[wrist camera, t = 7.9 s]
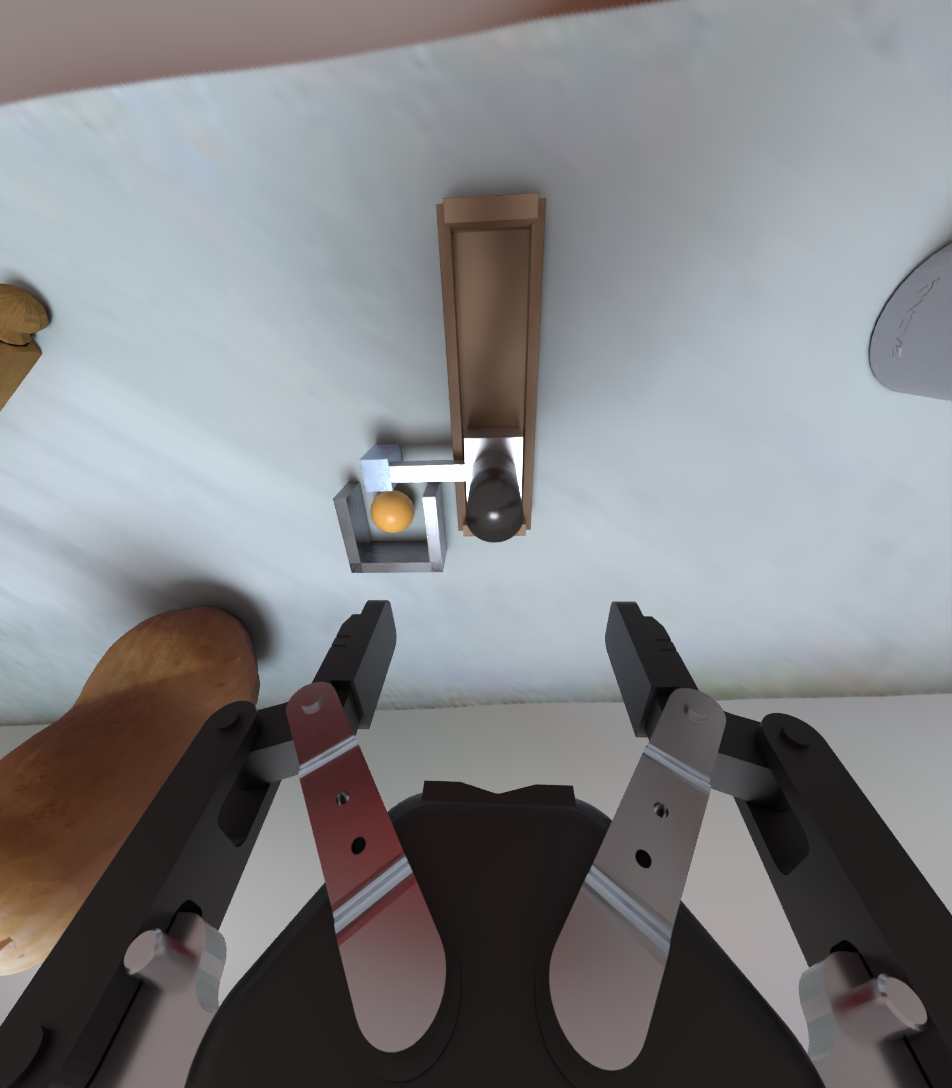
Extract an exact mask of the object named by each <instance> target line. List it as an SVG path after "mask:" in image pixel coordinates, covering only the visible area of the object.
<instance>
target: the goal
mask: <svg viewBox="0 0 952 1088" xmlns="http://www.w3.org/2000/svg"><path fill="white" fill-rule="evenodd" d="M422 499H423V507H424V515H425V524H426V532H427V541H428V542H372V539H371V535H370V530H369V525H368V520H367V515H366V511H365V506H364V501H363V496H362V491H361V487H360V482H348V483H347V484H346V485H345V486H344V488H343V489H342V490H341V491H340V492H339V493H338V494H337V495H336V496H335V497H334V499H333V501H334V505H335V509H336V513H337V516H338V520H339V524H340V528H341V532H342V536H343V540H344V544H345V548H346V552H347V556H348V560H349V564H350V568H351V572H352V573H383V572H443V568H444V563H445V558H446V553H447V546H446V535H445V524H444V512H443V501H442V490H441V481H437V482H428V484H427V487H426V489H425V492H424V494H423V497H422Z"/></svg>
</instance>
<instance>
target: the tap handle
mask: <svg viewBox="0 0 952 1088" xmlns="http://www.w3.org/2000/svg"><path fill="white" fill-rule="evenodd" d="M48 322H49V321H48V317H47V313H46V310H45V308H44V306H43V305H42V304H41V303H40V302H39V301H38V300H37V299H36V298H35V297H33V296H32V295H31V294H29V293H27V292H25V291H24V290H22V289H20V288H17V287H13V286H10V285H6V284H0V340H1V341H3V342H5V343H10V344H15V345H24V344H26V343H28V342H30V343H29V344H28V346H27V347H15V346H11V345H8V344H4V343H1V342H0V411H1V410H2V408H3V407H4V406H5V404H6V403H7V402H8V400H9V399H10V397H11V396H12V395H13V393H14V392H15V391H16V389H17V388H18V386H19V385H20V384H21V382H22V381H23V380H24V378H25V377H26V376H27V374H28V373H29V371H30V370H31V369H32V367H33V366H34V365H35V363H36V362H37V360H38V359H39V358H40V356H41V355H42V352H41V350H40V348H39V347H38V345H37V344H36V343H35V342H34V341H33V339H32V338H31V335H30V334H31V333H35V332H38V331H40V330H42V329H44V328H46V327H47V325H48Z"/></svg>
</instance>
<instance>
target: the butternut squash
mask: <svg viewBox="0 0 952 1088" xmlns="http://www.w3.org/2000/svg"><path fill="white" fill-rule="evenodd" d="M259 688H260V680H259V675H258V665H257V659H256V655H255V650H254V646H253V643H252V641H251V638H250V636H249V633H248V631H247V629H246V628H245V626H244V625H243V624H242V622H241V621H240V620H239V619H238V618H237V617H234V616H232V615H230V614H228V613H227V612H225V611H223V610H220V609H218V608H215V607H211V606H199V607H194V608H188V609H178V610H170V611H167V612H164V613H162V614H159V615H156V616H154V617H151V618H149V619H147V620H145V621H143V622H141V623H139V624H138V625H137V626H135V627H134V628H132V629H131V630H129V631H128V632H127V633H126V634H124V635H123V636H122V637H121V638H120V639H118V640H117V641H116V642H115V643H114V644H113V645H112V646H111V647H110V648H109V649H108V651H107V652H106V653H105V655H104V656H103V657H102V659H101V660H100V661H99V663H98V664H97V666H96V667H95V669H94V671H93V672H92V674H91V675H90V677H89V678H88V680H87V682H86V684H85V685H84V687H83V689H82V692H81V694H80V696H79V697H78V699H77V701H76V702H75V704H74V705H73V707H72V708H71V709H70V710H69V711H68V712H67V713H66V714H65V715H64V716H62V717H61V718H60V719H59V720H58V721H56V722H54V723H53V724H51V725H50V726H48V727H46V728H45V729H43V730H42V731H40V732H38V733H37V734H35V735H34V736H32V737H31V738H29V739H28V740H27V741H25V742H24V743H22V744H21V745H20V746H18V747H17V748H15V749H14V750H13V751H11V752H10V753H9V754H7V755H6V756H4V757H3V758H2V759H1V760H0V976H3V975H10V974H14V973H19V972H21V971H24V970H26V969H28V968H31V967H33V966H35V965H37V964H38V963H40V962H41V961H44V960H45V959H46V958H47V956H48V955H49V953H50V952H51V950H52V949H53V947H54V946H55V944H56V943H57V942H58V940H59V939H60V937H61V936H62V934H63V933H64V931H65V930H66V928H67V927H68V925H69V924H70V922H71V921H72V919H73V918H74V916H75V915H76V913H77V912H78V910H79V909H80V907H81V906H82V904H83V903H84V901H85V900H86V898H87V897H88V895H89V894H90V893H91V891H92V890H93V888H94V887H95V885H96V884H97V882H98V881H99V879H100V878H101V876H102V875H103V873H104V872H105V870H106V869H107V867H108V866H109V864H110V863H111V861H112V860H113V858H114V857H115V855H116V854H117V852H118V851H119V849H120V848H121V846H122V845H123V843H124V842H125V841H126V839H127V838H128V836H129V835H130V833H131V832H132V830H133V829H134V827H135V826H136V824H137V823H138V821H139V820H140V818H141V817H142V815H143V814H144V812H145V811H146V809H147V808H148V806H149V805H150V803H151V802H152V800H153V799H154V797H155V796H156V794H157V793H158V791H159V790H160V789H161V787H162V786H163V784H164V783H165V781H166V780H167V778H168V777H169V775H170V774H171V772H172V771H173V769H174V768H175V766H176V765H177V763H178V762H179V760H180V759H181V757H182V756H183V754H184V753H185V751H186V750H187V748H188V747H189V745H190V744H191V742H192V741H193V740H194V738H195V737H196V735H197V734H198V732H199V731H200V729H201V728H202V726H203V725H204V723H205V722H206V721H207V719H208V718H209V717H210V716H211V715H212V714H213V713H214V712H216V711H217V710H219V709H220V708H222V707H223V706H225V705H227V704H230V703H233V702H236V701H249V702H251V703H253V704H254V705H255V706H256V704H257V701H258V695H259Z"/></svg>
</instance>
